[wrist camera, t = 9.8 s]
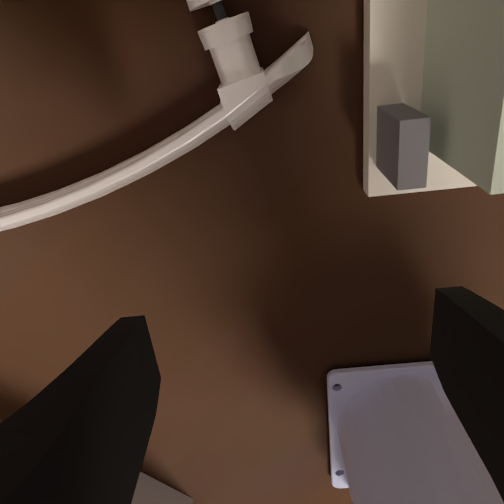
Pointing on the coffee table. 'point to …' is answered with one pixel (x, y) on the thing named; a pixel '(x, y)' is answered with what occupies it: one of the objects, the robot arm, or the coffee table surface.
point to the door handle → (226, 113)
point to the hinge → (157, 492)
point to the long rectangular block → (466, 88)
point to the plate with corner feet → (398, 104)
